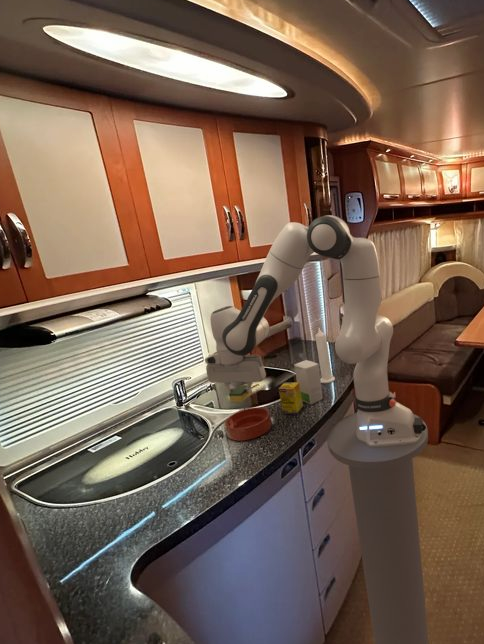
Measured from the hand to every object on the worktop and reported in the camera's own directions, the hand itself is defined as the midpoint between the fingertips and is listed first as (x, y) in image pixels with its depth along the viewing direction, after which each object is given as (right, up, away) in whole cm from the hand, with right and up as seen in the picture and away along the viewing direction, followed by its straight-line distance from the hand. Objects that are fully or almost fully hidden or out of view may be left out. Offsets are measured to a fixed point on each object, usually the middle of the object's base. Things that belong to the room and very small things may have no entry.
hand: (240, 393), depth 128 cm
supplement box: (+16, -9, +15) cm, 24 cm away
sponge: (0, -2, 0) cm, 2 cm away
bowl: (+2, -14, +5) cm, 15 cm away
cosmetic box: (+22, -6, +24) cm, 33 cm away
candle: (+27, 0, +41) cm, 49 cm away
